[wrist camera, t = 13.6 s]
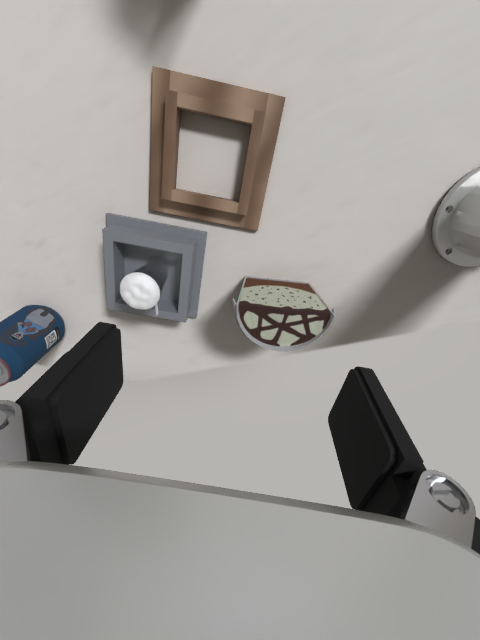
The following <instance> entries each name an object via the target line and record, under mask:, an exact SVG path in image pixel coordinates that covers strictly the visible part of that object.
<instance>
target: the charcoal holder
mask: <svg viewBox="0 0 480 640" xmlns="http://www.w3.org/2000/svg"><path fill="white" fill-rule="evenodd" d="M102 233H103V250H104V267H105V285H106V302H107V309H109V310H115V311H121V312H127V313H133V314H139V315H145V316H151V317H156V311H155V306H153V307H152V308H150V309H146V310H142V309H135V308H132V307H131V306H129V305H128V304H127V303H126V302H125V301H124V300H123V299H122V297H121V294H120V283H121V281H122V279H123V278H124V277H125V276H126V275H128V274H130V273H131V272H133V271H135V270H136V269H138V268H140V267H141V266H143V265H144V264H145V263H147V262H148V261H150V260H152V259H153V258H161V259H163V260H164V261H166V262H167V263H168V264H169V267H170V273H169V276H168V279H167V281H166V283H165V285H164V287H163V290H162V293H161V295H160V298H159V300H158V302H157V305H158V316H157V318H163V319H169V320H175V321H181V322H186V320H187V318H188V317H193V318H196V317H197V310H198V302H199V294H200V286H201V278H202V270H203V261H204V253H205V245H206V237H207V232H204V231H199V230H194V229H189V228H184V227H178V226H173V225H168V224H163V223H158V222H152V221H147V220H142V219H137V218H132V217H126V216H121V215H116V214H111V213H106V228H104V229H102Z"/></svg>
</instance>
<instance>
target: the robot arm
mask: <svg viewBox="0 0 480 640" xmlns="http://www.w3.org/2000/svg"><path fill="white" fill-rule="evenodd" d="M432 239H433V243H434V246H435V248H436V250H437V252H438V253H439V254H440V255H441V256H442V257H443V258H444V259H446V260H447V261H449V262H451V263H454V264H456V265H460V266H465V267H474V266H480V167H478V168H477V169H475V170H473V171H471V172H470V173H468V174H467V175H466V176H465V177H463V178H462V179H461V180H459V181H458V182H457V183H456V184H455V185H454V186H453V187H452V188H451V190H450V191H449V192H448V193H447V195H446V196H445V197H444V199H443V200H442V202H441V204H440V206H439V208H438V210H437V212H436V215H435V218H434V222H433V227H432ZM122 384H123V367H122V349H121V332H120V329H117V328H116V325H114V324H109V323H104V322H99V323H97V324H96V325H95V326H94V327H93V328H92V329H91V330H90V331H89V332H88V333H87V334H86V335H85V336H84V337H83V338H82V339H81V340H80V341H79V342H78V343H77V344H76V345H75V346H74V347H73V348H72V349H71V350H70V351H68V352H67V353H65V354H64V355H63V356H62V357H61V358H60V359H59V360H58V361H57V362H56V363H55V364H54V365H53V366H52V367H51V368H50V369H49V370H48V371H46V372H45V374H44V375H42V376H41V378H39V379H38V380H37V381H36V382H35V383H34V384H33V385H32V386H31V387H30V388H29V389H28V390H27V391H26V392H25V393H24V394H23V395H22V396H21V397H20V398H19V399H18V400H17V401H16V402H12V401H8V400H0V640H480V520H479V519H478V518H477V517H476V511H475V506H474V503H473V501H472V499H471V497H470V496H469V495H468V493H467V492H466V491H465V489H464V488H463V487H462V486H461V485H460V484H459V483H457V482H456V481H455V480H453V479H452V478H451V477H449V476H447V475H445V474H444V473H442V472H439V471H436V470H426V468H425V466H424V464H423V460H422V458H421V456H420V455H419V453H418V451H417V449H416V447H415V445H414V444H413V442H412V440H411V438H410V436H409V434H408V433H407V431H406V429H405V427H404V425H403V424H402V422H401V420H400V418H399V416H398V415H397V413H396V411H395V409H394V407H393V406H392V404H391V402H390V400H389V398H388V396H387V395H386V393H385V391H384V389H383V387H382V386H381V384H380V382H379V380H378V378H377V376H376V375H375V373H374V371H373V370H372V369H369V368H363V367H356V368H355V369H351V370H350V371H349V373H348V375H347V378H346V380H345V382H344V384H343V386H342V388H341V390H340V393H339V394H338V397H337V399H336V401H335V403H334V405H333V407H332V409H331V411H330V414H329V417H328V422H329V427H330V431H331V434H332V438H333V442H334V446H335V449H336V453H337V457H338V461H339V464H340V468H341V472H342V475H343V479H344V483H345V486H346V490H347V494H348V498H349V502H350V505H351V507H352V508H353V509H348V508H343V507H338V506H331V505H325V504H319V503H313V502H307V501H301V500H295V499H289V498H283V497H276V496H270V495H264V494H258V493H252V492H245V491H239V490H232V489H226V488H220V487H214V486H207V485H201V484H195V483H188V482H182V481H175V480H169V479H162V478H156V477H149V476H142V475H136V474H129V473H122V472H116V471H110V470H103V469H94V468H88V467H80V466H72V465H69V464H74V463H75V462H76V460H77V459H78V457H79V456H80V454H81V452H82V451H83V449H84V448H85V446H86V444H87V443H88V441H89V439H90V438H91V436H92V435H93V433H94V431H95V430H96V428H97V426H98V425H99V423H100V421H101V420H102V418H103V417H104V415H105V413H106V412H107V410H108V409H109V407H110V405H111V404H112V402H113V401H114V399H115V397H116V395H117V394H118V392H119V391H120V389H121V387H122ZM354 509H355V510H354Z"/></svg>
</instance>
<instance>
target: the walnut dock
mask: <svg viewBox="0 0 480 640" xmlns="http://www.w3.org/2000/svg"><path fill="white" fill-rule="evenodd" d="M284 102H285V97H282V96H277V95H273V94H269V93H265V92H260V91H256V90H252V89H247V88H243V87H239V86H235V85H230V84H226V83H222V82H218V81H213V80H209V79H205V78H201V77H196V76H192V75H188V74H183V73H179V72H175V71H171V70H166V69H162V68H158V67H154V66H153V72H152V116H151V161H150V205H149V210H153V211H158V212H163V213H168V214H173V215H179V216H184V217H189V218H194V219H199V220H204V221H209V222H214V223H220V224H225V225H230V226H235V227H240V228H245V229H250V230H255V231H257V230H258V226H259V221H260V216H261V211H262V207H263V202H264V197H265V192H266V188H267V183H268V178H269V173H270V168H271V164H272V159H273V154H274V149H275V145H276V140H277V135H278V130H279V126H280V121H281V116H282V111H283V107H284ZM181 110H184V111H189V112H193V113H198V114H202V115H206V116H211V117H215V118H220V119H224V120H229V121H233V122H238V123H242V124H247V125H251V126H252V128H251V134H250V140H249V146H248V151H247V157H246V163H245V169H244V175H243V181H242V187H241V193H240V199H239V201H235V200H230V199H225V198H220V197H215V196H210V195H205V194H200V193H195V192H190V191H185V190H180V189H176V177H177V161H178V146H179V130H180V115H181Z"/></svg>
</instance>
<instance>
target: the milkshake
mask: <svg viewBox="0 0 480 640" xmlns="http://www.w3.org/2000/svg"><path fill="white" fill-rule="evenodd" d="M169 273H170V267H169V264H168V263H167V262H166V261H164V260H163V259H161V258H153V259H152V260H150V261H148V262H147V263H145V264H144V265H143V266H141V267H140V268H138V269H136V270H135V271H133V272H131V273H130V274H128V275H126V276H125V277H124V278H123V279H122V281H121V283H120V294H121V297H122V299H123V300H124V301H125V302H126V303H127V304H128V305H129V306H131V307H132V308H135V309H142V310H146V309H150V308H152V307H153V306H155V311H156V317H157V316H158V305H157V302H158V300H159V298H160V295H161V293H162V290H163V287H164V285H165V283H166V281H167V279H168V276H169Z"/></svg>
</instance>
